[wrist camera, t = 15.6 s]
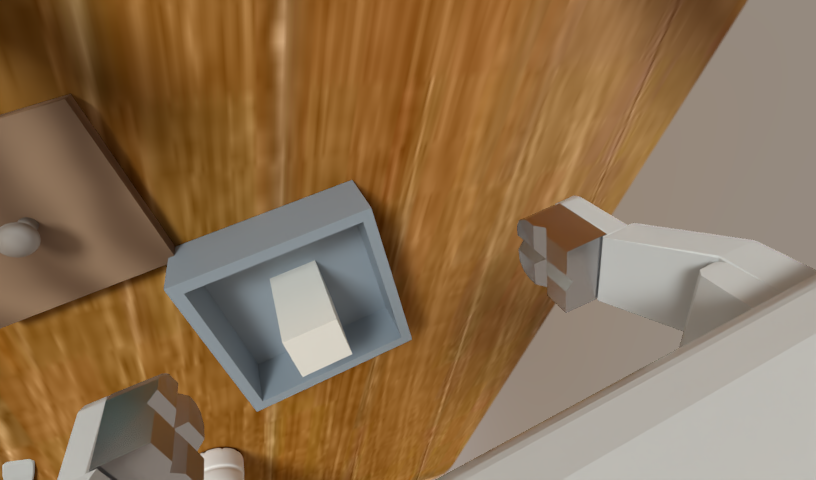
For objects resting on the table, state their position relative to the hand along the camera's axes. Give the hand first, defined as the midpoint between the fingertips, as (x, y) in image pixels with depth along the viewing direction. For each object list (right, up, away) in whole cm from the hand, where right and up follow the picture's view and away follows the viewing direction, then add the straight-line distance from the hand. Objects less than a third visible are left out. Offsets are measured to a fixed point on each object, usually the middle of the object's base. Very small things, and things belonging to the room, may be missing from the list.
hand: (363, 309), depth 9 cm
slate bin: (-10, -3, +34) cm, 35 cm away
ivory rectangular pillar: (-10, -3, +33) cm, 35 cm away
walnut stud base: (-27, +3, +22) cm, 35 cm away
